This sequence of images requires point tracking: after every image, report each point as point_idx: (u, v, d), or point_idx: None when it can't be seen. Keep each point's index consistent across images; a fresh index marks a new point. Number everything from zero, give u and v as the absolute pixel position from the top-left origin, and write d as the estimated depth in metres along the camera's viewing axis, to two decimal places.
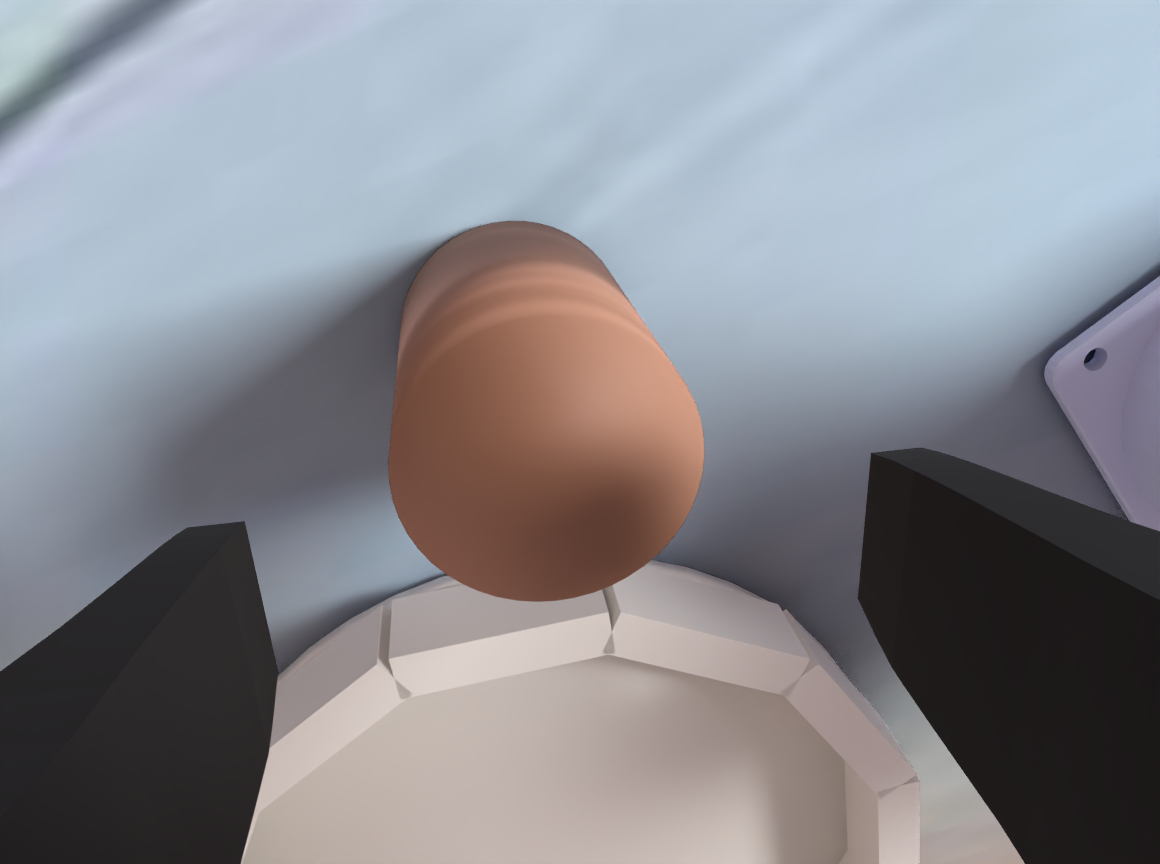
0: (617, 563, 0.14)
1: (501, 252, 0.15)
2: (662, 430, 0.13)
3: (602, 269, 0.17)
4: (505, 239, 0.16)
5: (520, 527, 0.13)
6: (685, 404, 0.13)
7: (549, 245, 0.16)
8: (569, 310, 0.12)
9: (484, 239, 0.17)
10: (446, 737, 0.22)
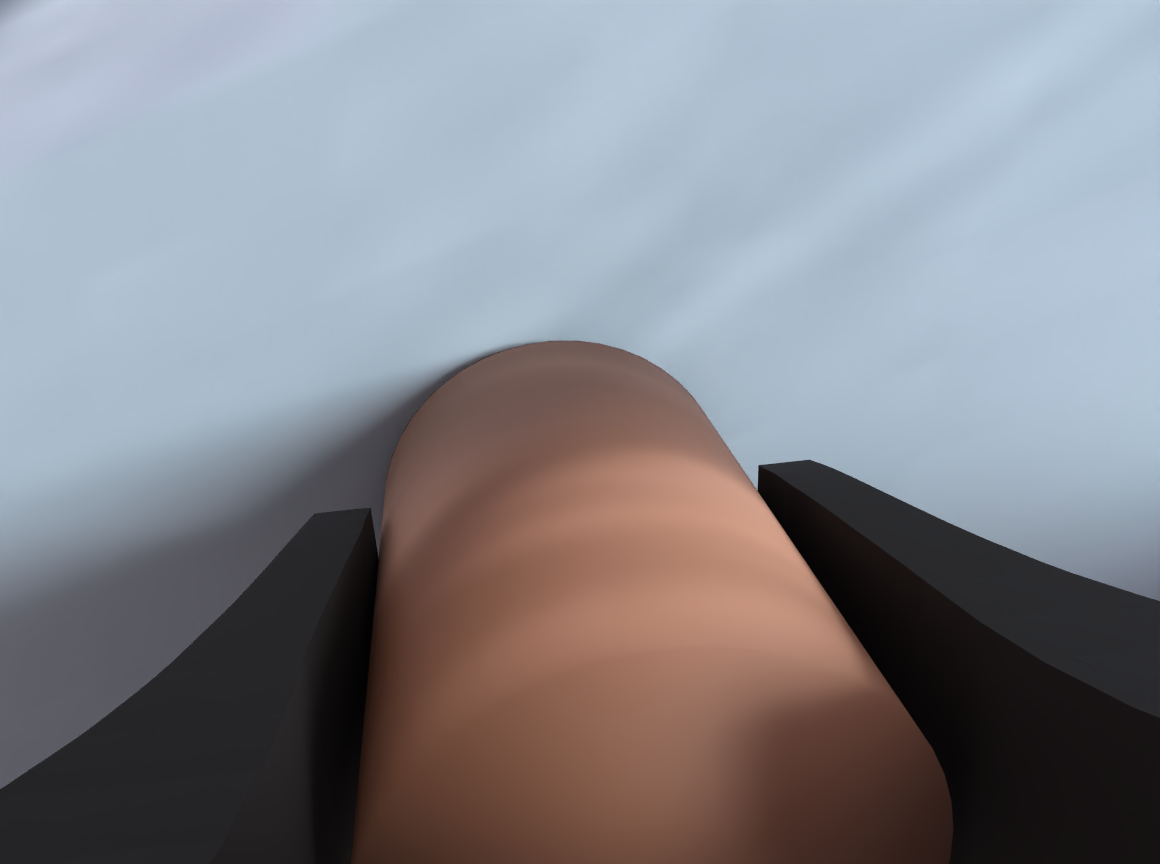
0: None
1: (550, 422, 0.09)
2: (879, 825, 0.07)
3: (709, 432, 0.10)
4: (552, 387, 0.10)
5: None
6: (926, 781, 0.07)
7: (626, 400, 0.10)
8: (710, 624, 0.06)
9: (517, 383, 0.10)
10: None
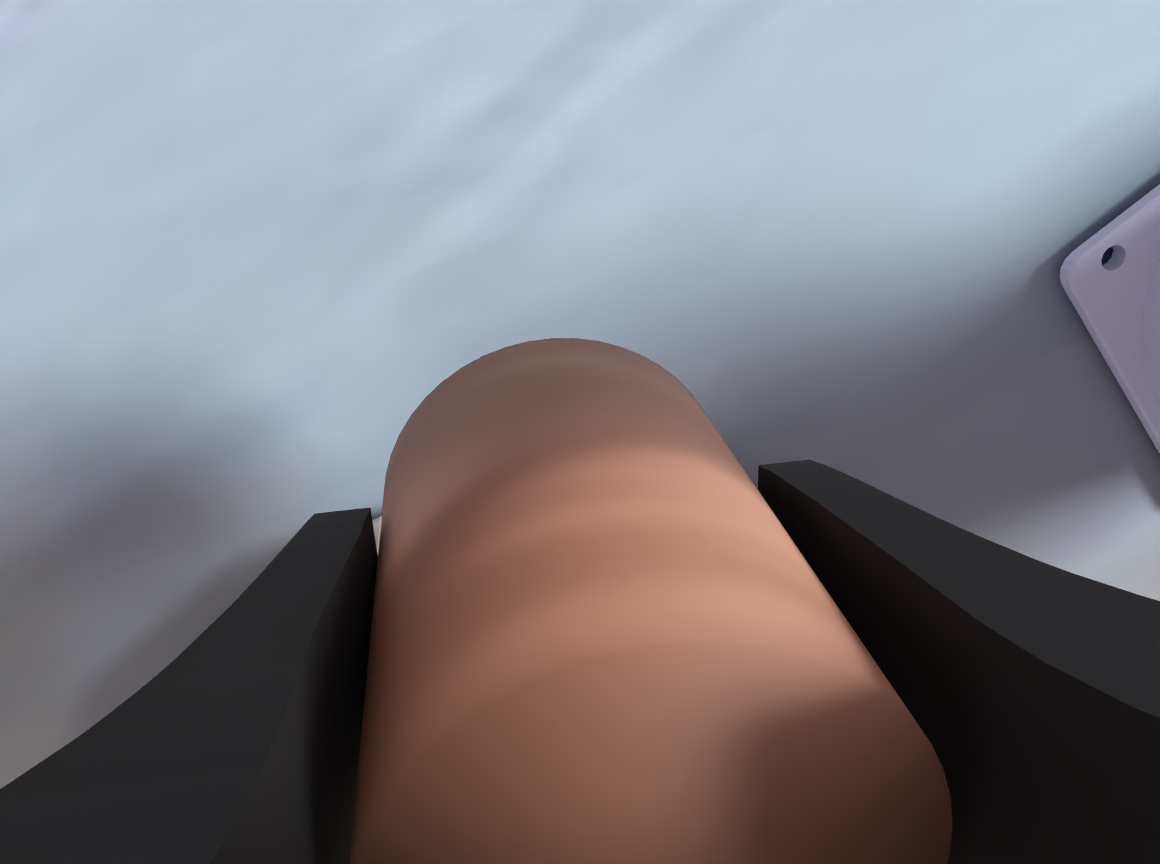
0: None
1: (549, 419, 0.09)
2: (876, 820, 0.07)
3: (708, 429, 0.10)
4: (552, 384, 0.10)
5: None
6: (927, 776, 0.07)
7: (625, 397, 0.10)
8: (709, 618, 0.06)
9: (516, 380, 0.10)
10: None
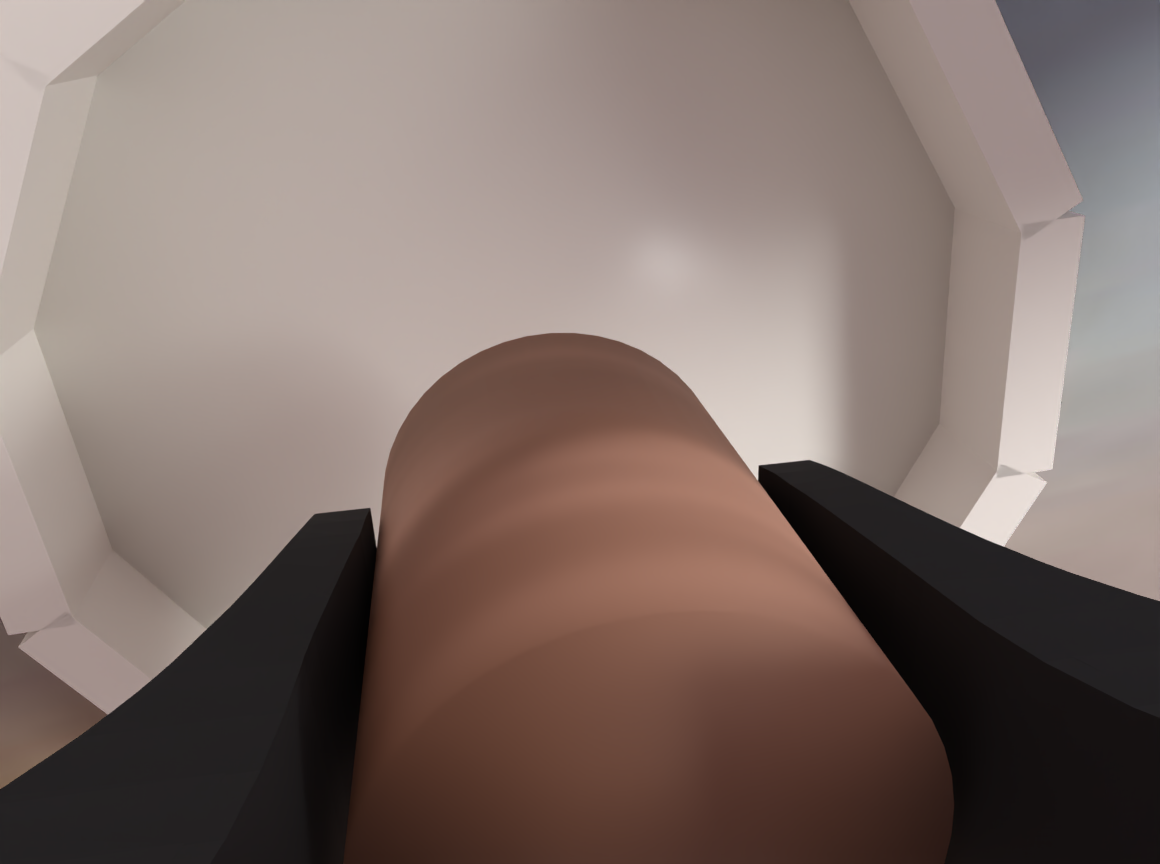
0: None
1: (547, 407, 0.09)
2: (877, 798, 0.07)
3: (706, 420, 0.10)
4: (550, 375, 0.10)
5: None
6: (926, 753, 0.07)
7: (623, 387, 0.10)
8: (705, 591, 0.06)
9: (515, 372, 0.10)
10: (370, 112, 0.14)
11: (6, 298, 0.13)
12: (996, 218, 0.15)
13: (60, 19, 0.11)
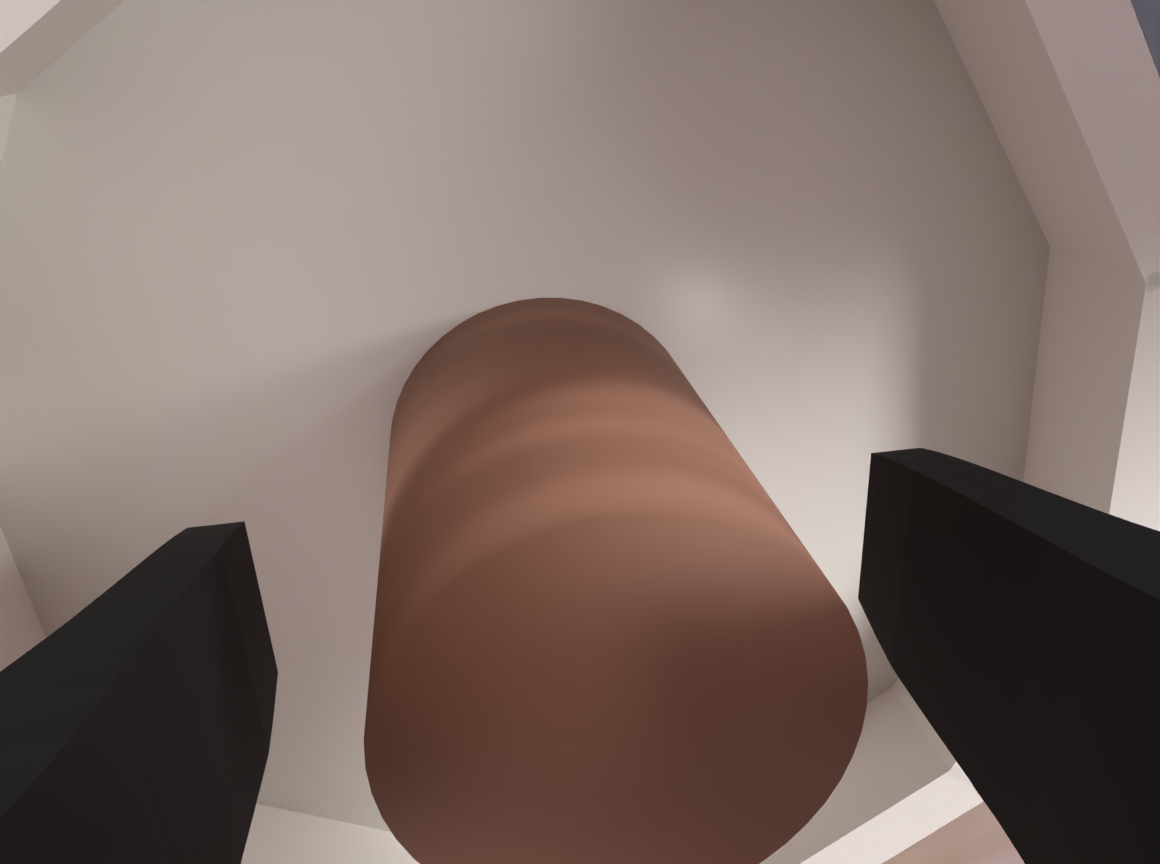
0: (723, 860, 0.09)
1: (535, 359, 0.11)
2: (804, 674, 0.08)
3: (676, 373, 0.12)
4: (538, 333, 0.11)
5: (576, 820, 0.08)
6: (843, 636, 0.08)
7: (602, 343, 0.11)
8: (660, 497, 0.08)
9: (507, 331, 0.12)
10: (355, 137, 0.12)
11: None
12: (1111, 263, 0.12)
13: None
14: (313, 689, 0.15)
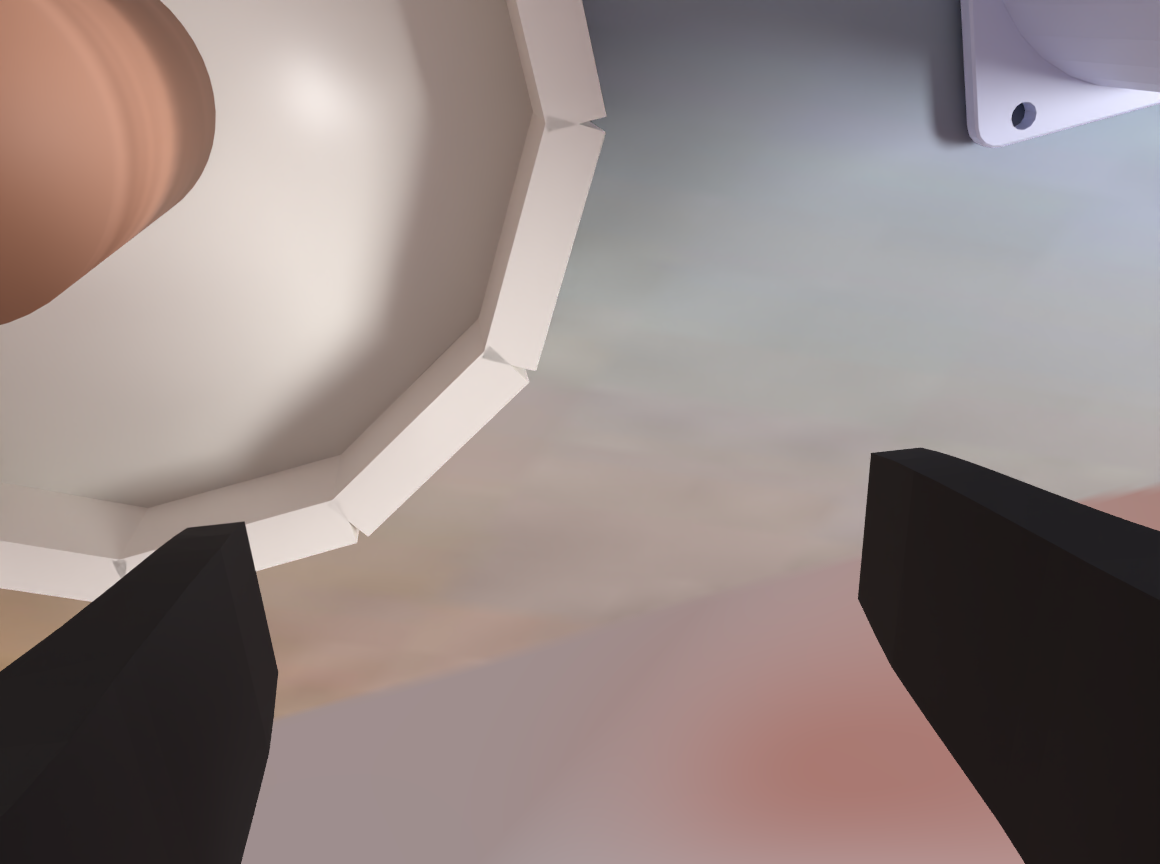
0: None
1: None
2: (59, 156, 0.11)
3: (164, 38, 0.14)
4: None
5: None
6: (95, 134, 0.11)
7: None
8: None
9: None
10: None
11: None
12: (539, 111, 0.16)
13: None
14: None
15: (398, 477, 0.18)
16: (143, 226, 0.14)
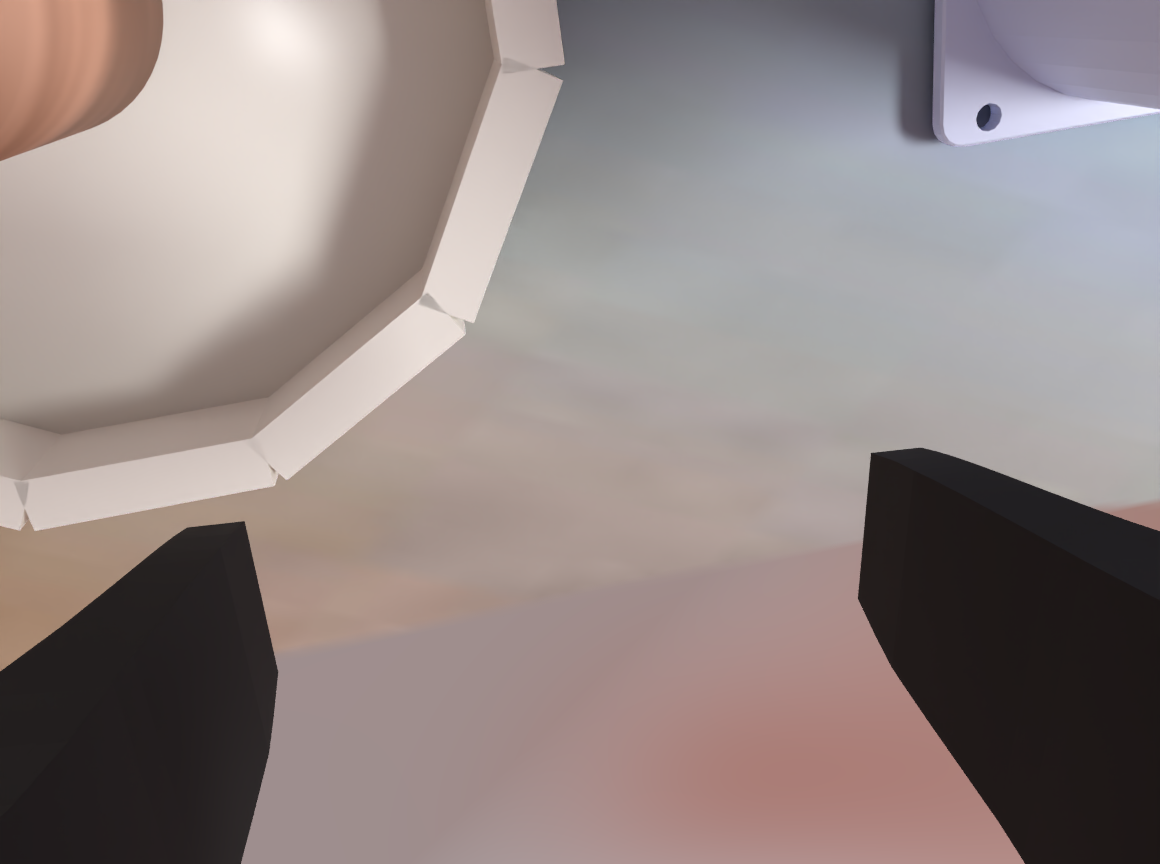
0: None
1: None
2: None
3: None
4: None
5: None
6: (10, 1, 0.10)
7: None
8: None
9: None
10: None
11: None
12: (497, 53, 0.15)
13: None
14: None
15: (322, 421, 0.17)
16: (69, 123, 0.13)
